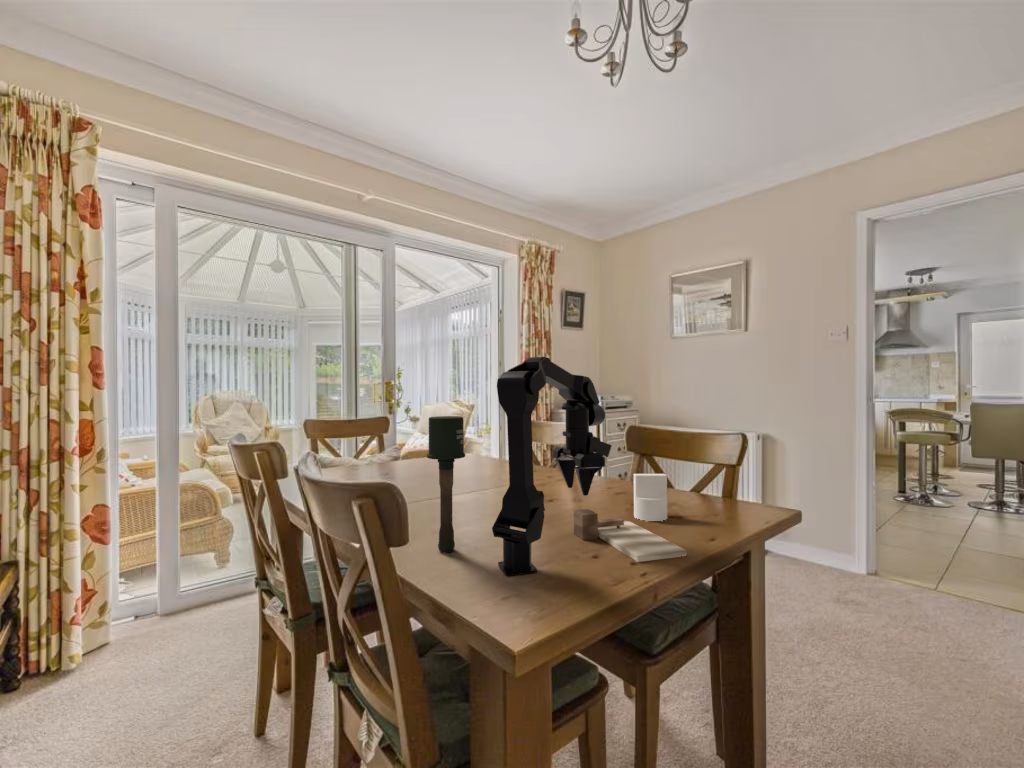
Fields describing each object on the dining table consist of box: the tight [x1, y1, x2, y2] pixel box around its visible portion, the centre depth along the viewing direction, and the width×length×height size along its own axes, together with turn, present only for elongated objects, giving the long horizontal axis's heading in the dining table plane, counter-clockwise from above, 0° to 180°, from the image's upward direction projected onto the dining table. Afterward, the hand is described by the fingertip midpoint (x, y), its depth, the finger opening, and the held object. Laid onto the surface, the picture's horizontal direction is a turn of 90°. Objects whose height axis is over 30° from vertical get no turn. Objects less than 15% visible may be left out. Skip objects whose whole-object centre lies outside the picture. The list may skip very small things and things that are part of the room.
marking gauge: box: [573, 508, 625, 541], centre depth 116 cm, size 12×5×6 cm, turn 107°
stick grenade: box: [426, 415, 466, 553], centre depth 105 cm, size 8×9×30 cm
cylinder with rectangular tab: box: [633, 473, 668, 522], centre depth 131 cm, size 9×9×12 cm
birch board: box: [598, 520, 688, 563], centre depth 111 cm, size 24×12×1 cm, turn 17°
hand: (577, 491), depth 115 cm, fingers open, 9 cm apart
